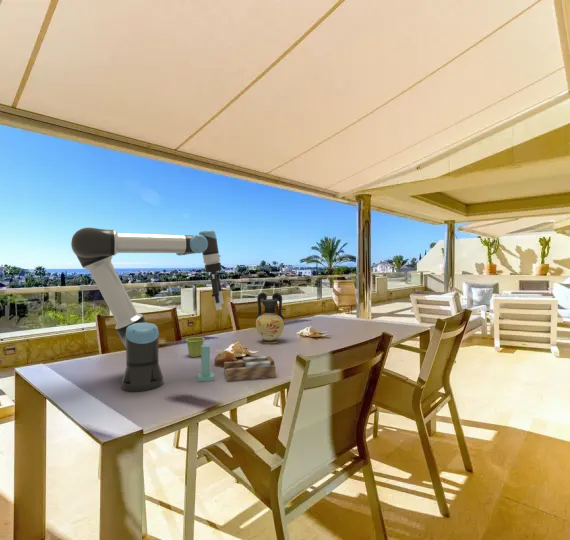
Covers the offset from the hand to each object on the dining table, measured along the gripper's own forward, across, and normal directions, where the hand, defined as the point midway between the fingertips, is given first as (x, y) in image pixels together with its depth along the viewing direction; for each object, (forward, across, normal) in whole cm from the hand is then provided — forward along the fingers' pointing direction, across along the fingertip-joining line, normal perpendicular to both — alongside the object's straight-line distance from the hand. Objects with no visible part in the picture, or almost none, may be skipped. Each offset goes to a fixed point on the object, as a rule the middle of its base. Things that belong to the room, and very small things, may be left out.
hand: (220, 306), depth 166 cm
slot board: (+27, -22, -9) cm, 36 cm away
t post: (+24, -25, +8) cm, 36 cm away
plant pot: (+26, +13, +18) cm, 34 cm away
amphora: (+34, +40, -22) cm, 56 cm away
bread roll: (+27, -5, +1) cm, 27 cm away
